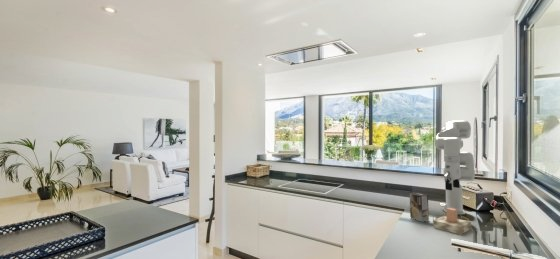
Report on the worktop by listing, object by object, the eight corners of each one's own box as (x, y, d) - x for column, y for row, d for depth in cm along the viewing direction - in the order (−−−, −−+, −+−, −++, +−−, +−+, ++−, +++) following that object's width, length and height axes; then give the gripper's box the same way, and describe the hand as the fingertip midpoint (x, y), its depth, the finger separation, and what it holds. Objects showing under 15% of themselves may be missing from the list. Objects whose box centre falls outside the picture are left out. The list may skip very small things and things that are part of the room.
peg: (446, 227, 147) (446, 208, 148) (449, 226, 150) (449, 207, 150) (454, 229, 144) (453, 210, 144) (457, 228, 146) (457, 209, 146)
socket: (433, 227, 149) (433, 220, 149) (444, 222, 157) (444, 215, 157) (460, 234, 137) (460, 227, 137) (471, 228, 145) (471, 221, 145)
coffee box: (429, 220, 159) (428, 195, 160) (422, 222, 157) (421, 196, 157) (416, 216, 168) (415, 192, 168) (409, 218, 165) (409, 193, 166)
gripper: (452, 161, 140) (453, 192, 140) (465, 158, 150) (466, 187, 149) (437, 160, 146) (438, 189, 146) (451, 157, 156) (452, 185, 156)
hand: (452, 188), depth 148 cm, fingers open, 9 cm apart
